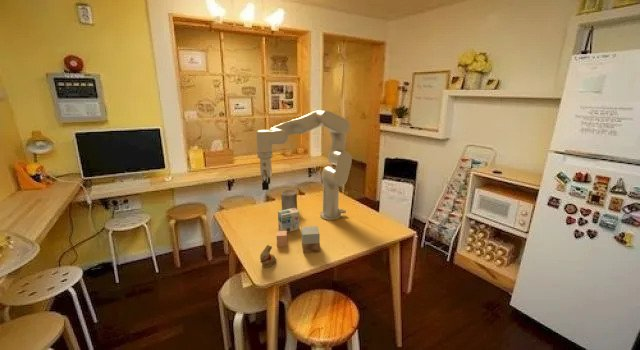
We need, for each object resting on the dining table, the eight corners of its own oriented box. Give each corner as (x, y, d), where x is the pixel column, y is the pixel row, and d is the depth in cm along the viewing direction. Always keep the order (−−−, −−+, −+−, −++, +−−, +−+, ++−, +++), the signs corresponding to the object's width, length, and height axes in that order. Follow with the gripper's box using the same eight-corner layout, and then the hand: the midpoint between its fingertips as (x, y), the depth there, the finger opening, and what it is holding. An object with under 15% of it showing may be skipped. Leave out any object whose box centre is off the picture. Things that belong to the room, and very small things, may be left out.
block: (286, 241, 148) (286, 230, 146) (287, 246, 143) (286, 235, 141) (277, 241, 147) (276, 231, 146) (277, 246, 143) (276, 236, 141)
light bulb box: (282, 233, 156) (281, 215, 153) (278, 228, 161) (277, 210, 158) (300, 229, 160) (299, 211, 157) (295, 224, 166) (295, 207, 163)
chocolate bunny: (258, 262, 129) (257, 243, 126) (275, 258, 132) (274, 239, 129) (261, 269, 124) (260, 249, 121) (279, 265, 127) (278, 245, 125)
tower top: (317, 235, 144) (317, 226, 143) (319, 243, 137) (319, 233, 135) (301, 236, 143) (301, 226, 142) (302, 244, 136) (302, 234, 134)
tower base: (317, 243, 146) (317, 235, 144) (319, 252, 138) (319, 243, 137) (301, 244, 145) (301, 235, 143) (303, 253, 137) (303, 244, 136)
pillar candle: (290, 208, 189) (289, 186, 184) (300, 212, 182) (299, 190, 178) (278, 212, 182) (277, 190, 178) (288, 217, 176) (287, 194, 171)
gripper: (271, 158, 137) (272, 192, 142) (273, 151, 154) (274, 181, 158) (255, 158, 136) (257, 192, 141) (259, 151, 153) (260, 181, 158)
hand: (266, 186), depth 150 cm, fingers open, 9 cm apart
